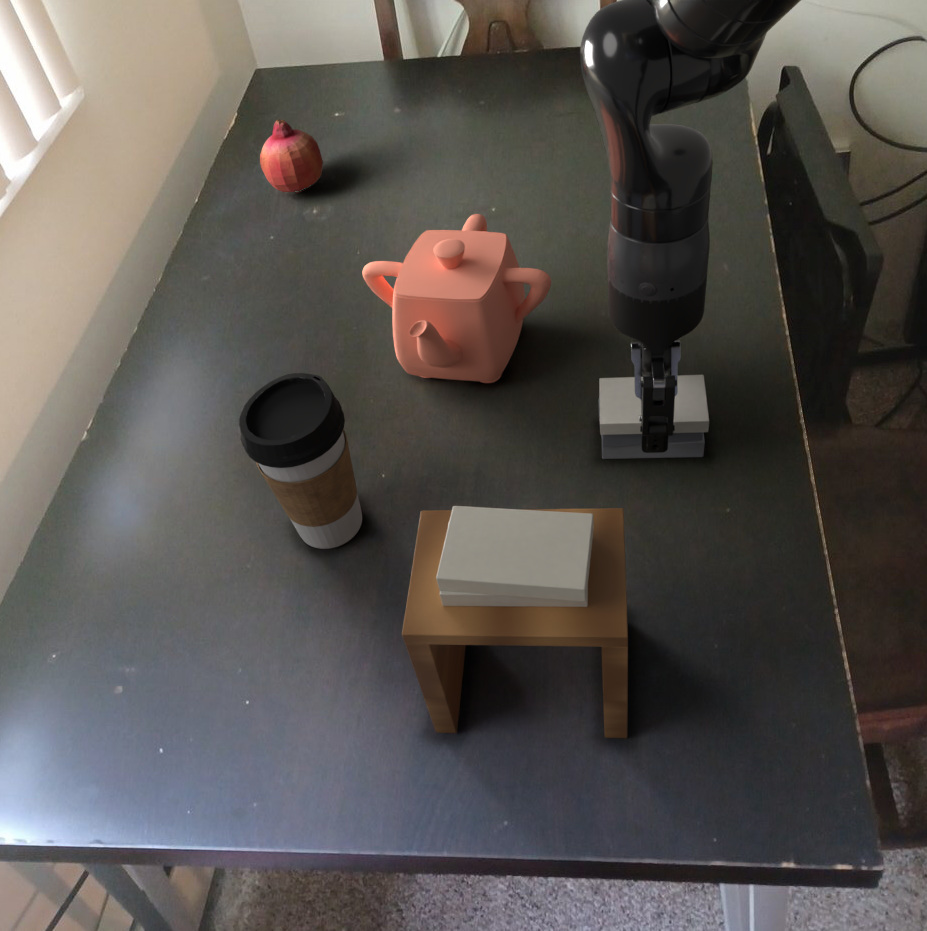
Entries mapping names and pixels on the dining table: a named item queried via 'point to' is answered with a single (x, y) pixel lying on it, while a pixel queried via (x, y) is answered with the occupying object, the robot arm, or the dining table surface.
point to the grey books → (632, 448)
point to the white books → (515, 558)
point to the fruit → (290, 158)
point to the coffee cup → (304, 456)
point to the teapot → (458, 302)
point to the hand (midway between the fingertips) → (652, 414)
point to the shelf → (517, 621)
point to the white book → (625, 407)
